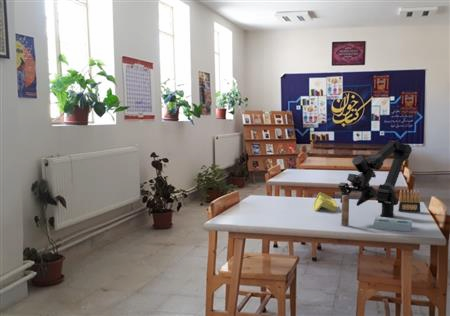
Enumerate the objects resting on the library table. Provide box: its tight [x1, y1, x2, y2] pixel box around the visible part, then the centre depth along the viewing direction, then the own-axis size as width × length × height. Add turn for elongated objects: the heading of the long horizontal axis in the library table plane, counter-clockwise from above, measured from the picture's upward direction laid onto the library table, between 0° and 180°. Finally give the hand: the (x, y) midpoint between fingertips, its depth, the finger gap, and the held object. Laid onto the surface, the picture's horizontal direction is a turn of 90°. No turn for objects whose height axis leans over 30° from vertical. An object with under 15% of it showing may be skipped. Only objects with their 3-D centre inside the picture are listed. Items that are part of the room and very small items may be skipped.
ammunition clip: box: [397, 188, 421, 213], centre depth 258 cm, size 11×2×12 cm, turn 79°
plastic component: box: [313, 192, 339, 212], centre depth 269 cm, size 20×7×10 cm
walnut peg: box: [341, 194, 350, 227], centre depth 228 cm, size 3×3×14 cm
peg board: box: [373, 217, 413, 232], centre depth 223 cm, size 10×16×3 cm, turn 68°
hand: (348, 203), depth 229 cm, fingers open, 9 cm apart
